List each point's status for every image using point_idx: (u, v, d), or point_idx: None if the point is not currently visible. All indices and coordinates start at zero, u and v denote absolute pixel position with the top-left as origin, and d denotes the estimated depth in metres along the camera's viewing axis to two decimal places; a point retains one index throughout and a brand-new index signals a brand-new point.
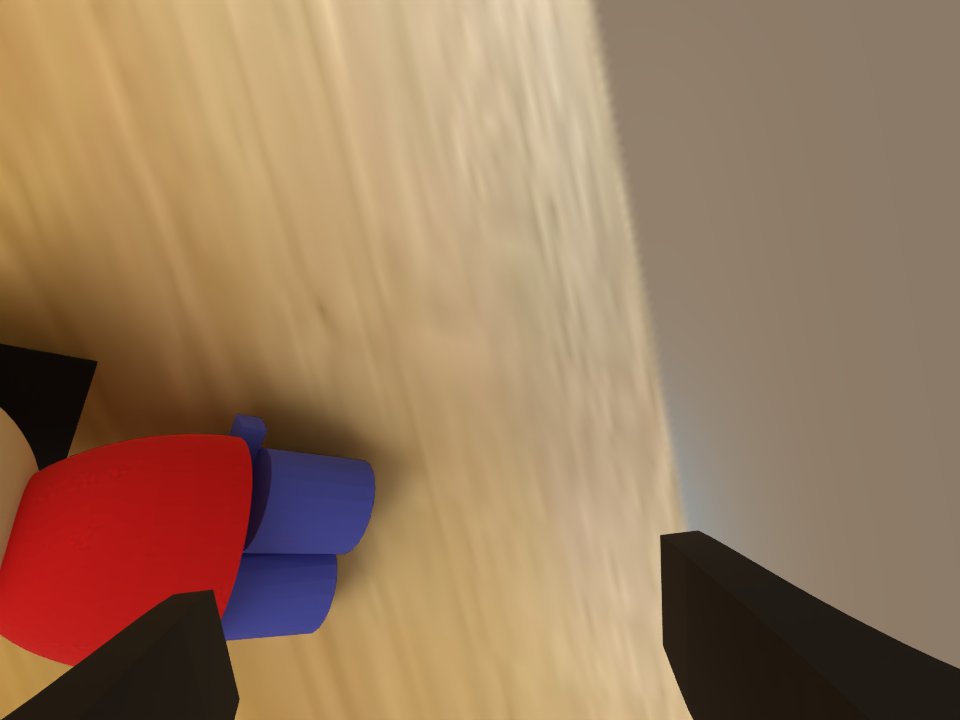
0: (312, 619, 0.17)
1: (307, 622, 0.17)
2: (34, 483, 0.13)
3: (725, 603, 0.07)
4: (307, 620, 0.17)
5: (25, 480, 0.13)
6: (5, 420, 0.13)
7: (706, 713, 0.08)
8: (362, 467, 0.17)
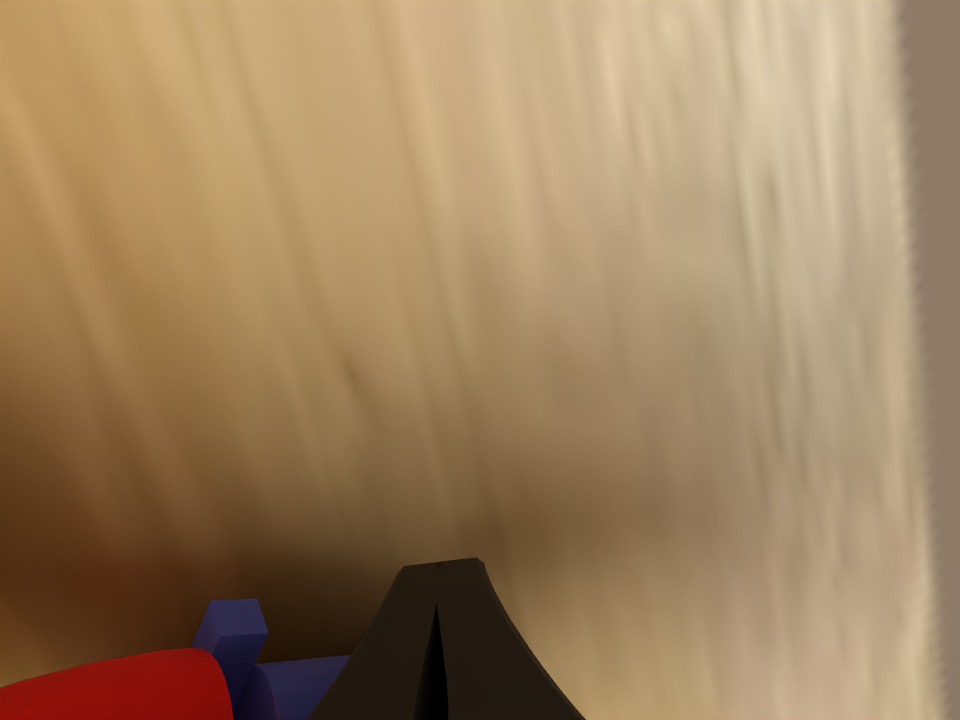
0: None
1: None
2: None
3: None
4: None
5: None
6: None
7: None
8: None
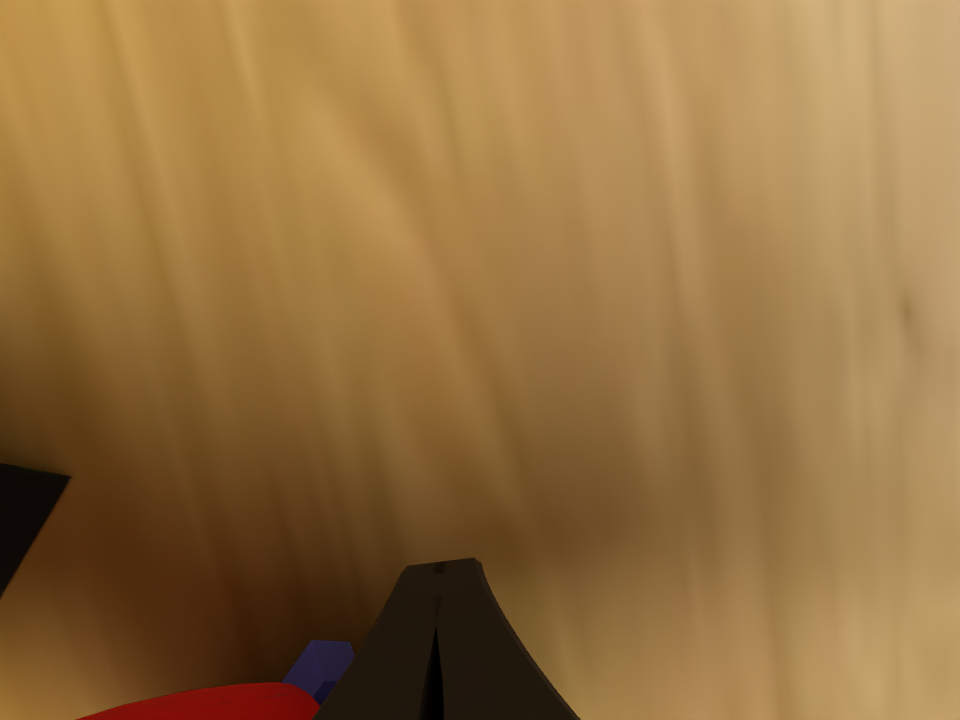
0: None
1: None
2: None
3: (437, 638, 0.07)
4: None
5: None
6: None
7: None
8: None
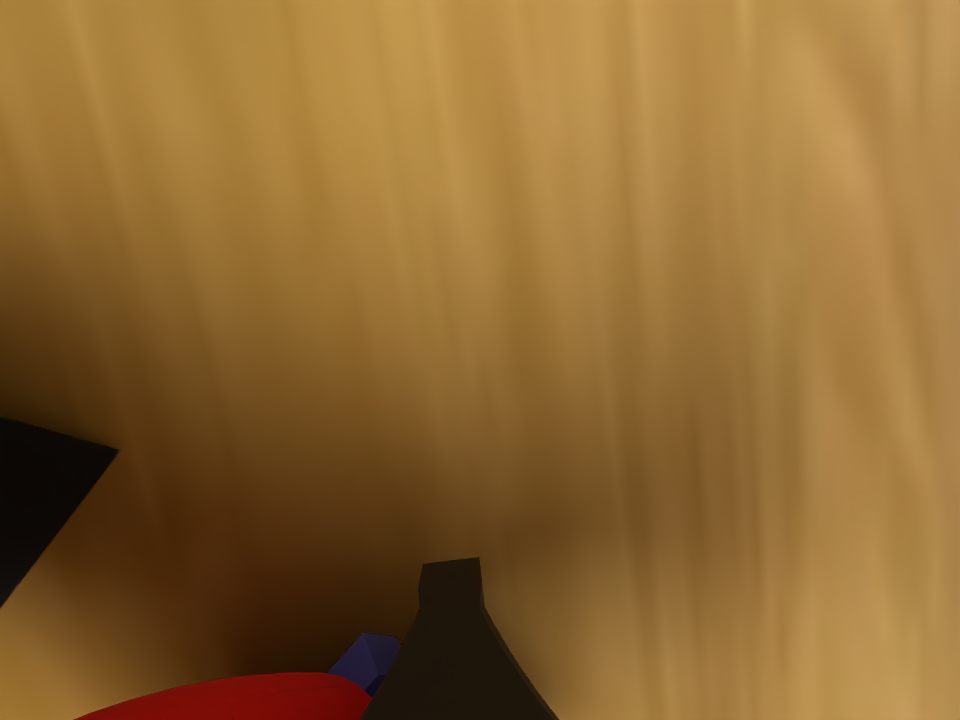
0: None
1: None
2: None
3: (423, 641, 0.07)
4: None
5: None
6: None
7: None
8: None
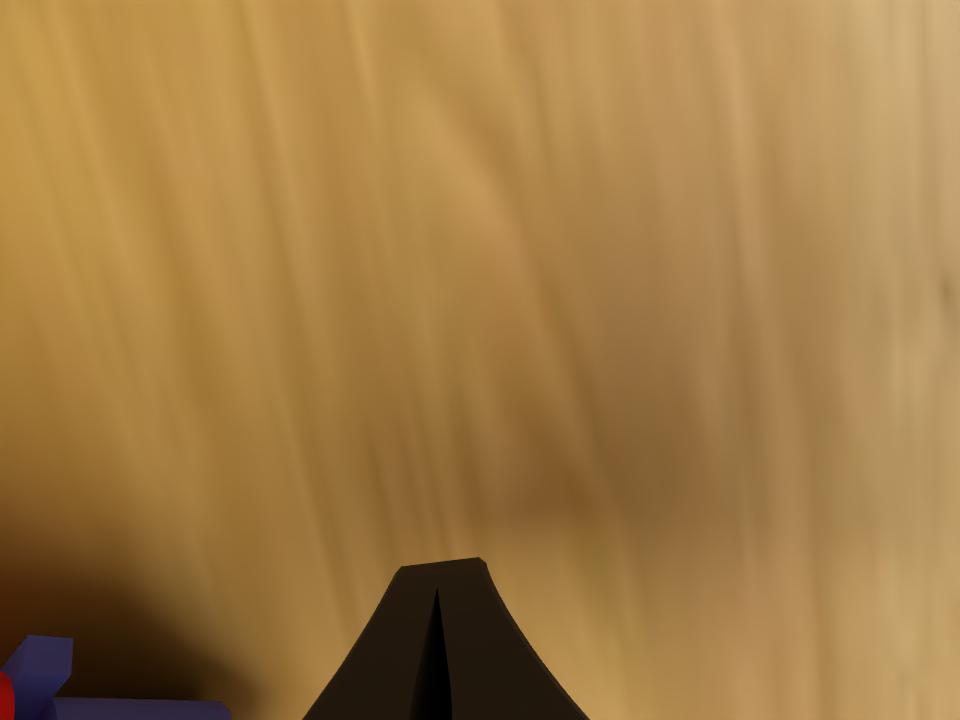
0: None
1: None
2: None
3: None
4: None
5: None
6: None
7: None
8: None
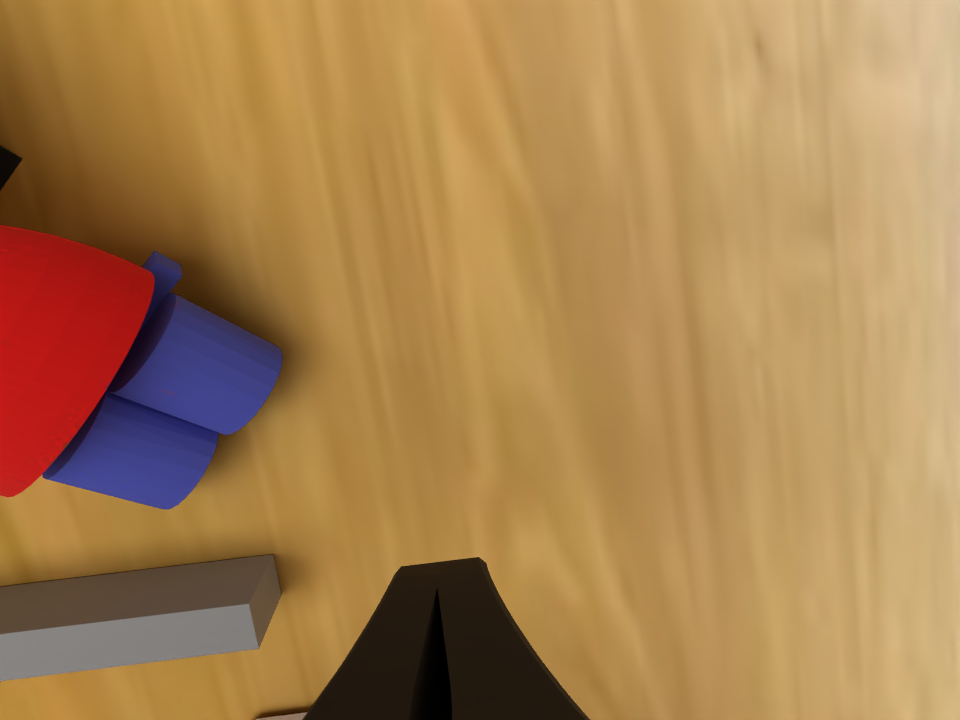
0: (172, 492, 0.16)
1: (167, 493, 0.16)
2: None
3: None
4: (167, 492, 0.16)
5: None
6: None
7: None
8: (272, 350, 0.16)
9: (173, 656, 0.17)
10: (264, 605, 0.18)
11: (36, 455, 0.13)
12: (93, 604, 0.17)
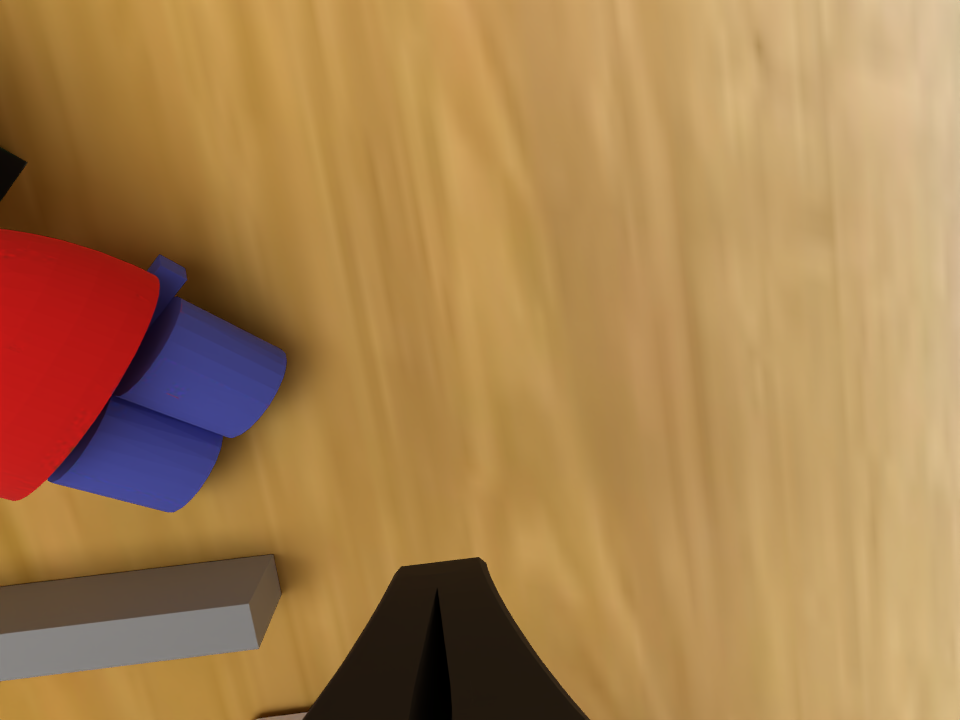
0: (177, 495, 0.16)
1: (171, 496, 0.16)
2: None
3: None
4: (171, 495, 0.16)
5: None
6: None
7: None
8: (276, 353, 0.16)
9: (173, 656, 0.17)
10: (264, 605, 0.18)
11: (42, 459, 0.13)
12: (93, 604, 0.17)
